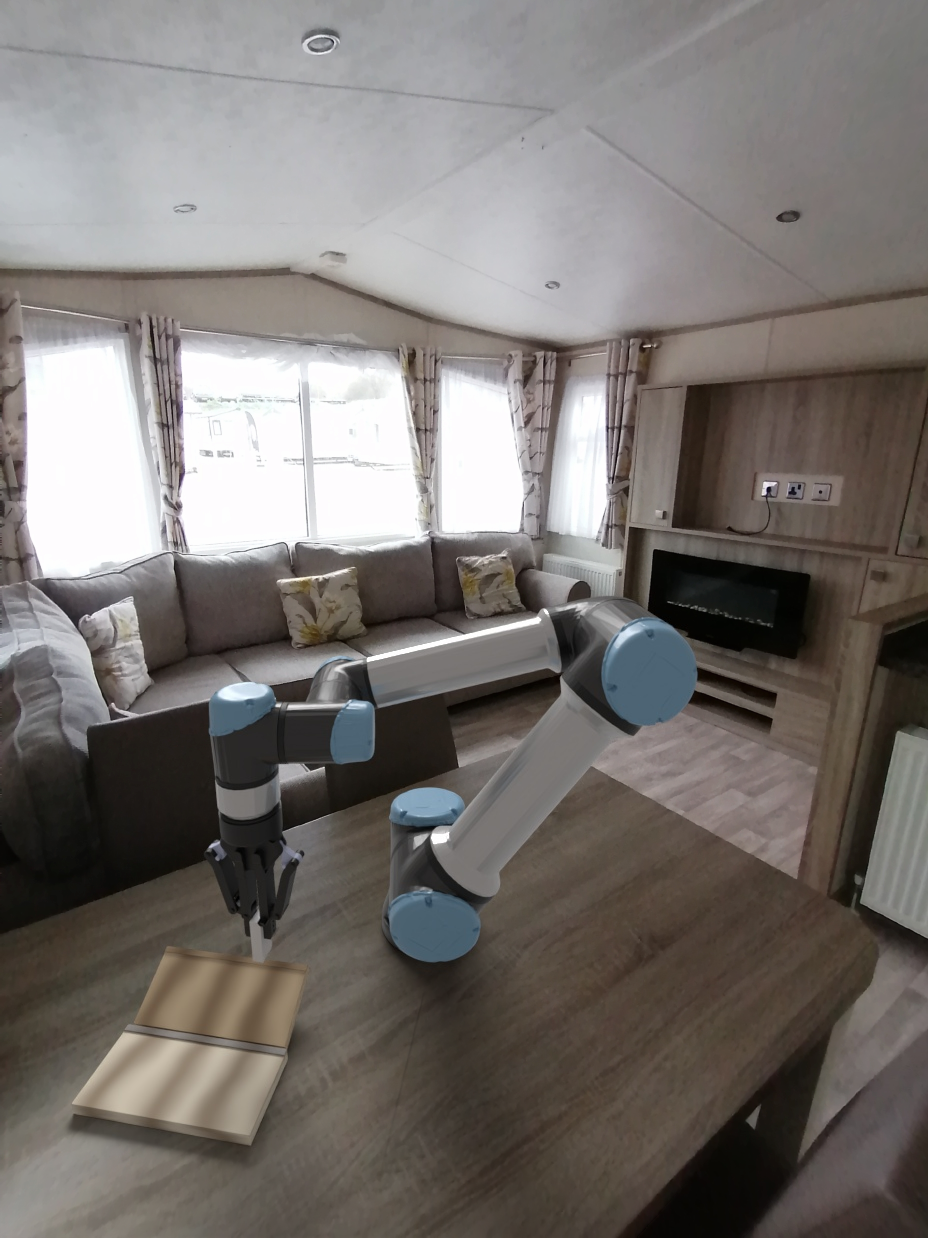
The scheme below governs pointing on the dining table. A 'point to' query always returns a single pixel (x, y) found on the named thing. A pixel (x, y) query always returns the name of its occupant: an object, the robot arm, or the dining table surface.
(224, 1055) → the laid board
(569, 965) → the dining table surface
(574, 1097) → the dining table surface
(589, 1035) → the dining table surface
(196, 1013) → the plank
